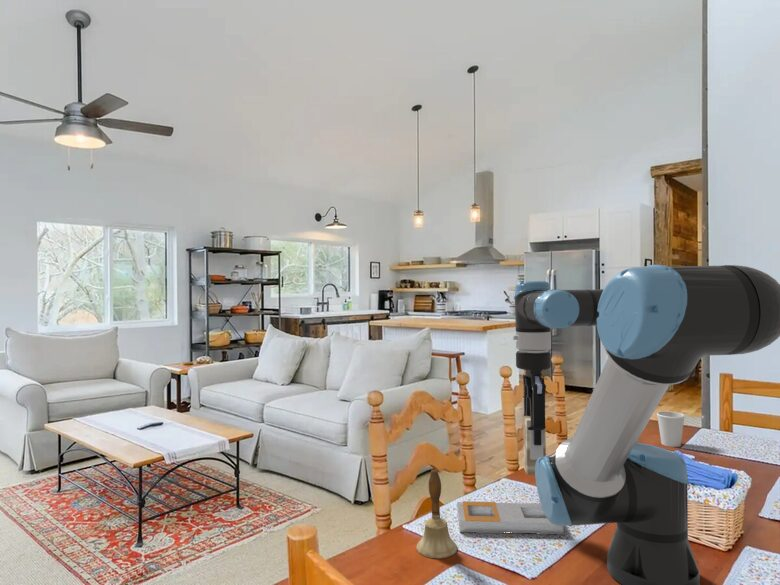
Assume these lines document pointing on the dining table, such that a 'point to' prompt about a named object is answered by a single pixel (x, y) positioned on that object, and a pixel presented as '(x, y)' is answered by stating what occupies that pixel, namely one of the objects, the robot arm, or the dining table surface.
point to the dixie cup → (670, 427)
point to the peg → (528, 463)
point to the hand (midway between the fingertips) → (534, 455)
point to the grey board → (504, 518)
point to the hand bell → (436, 527)
